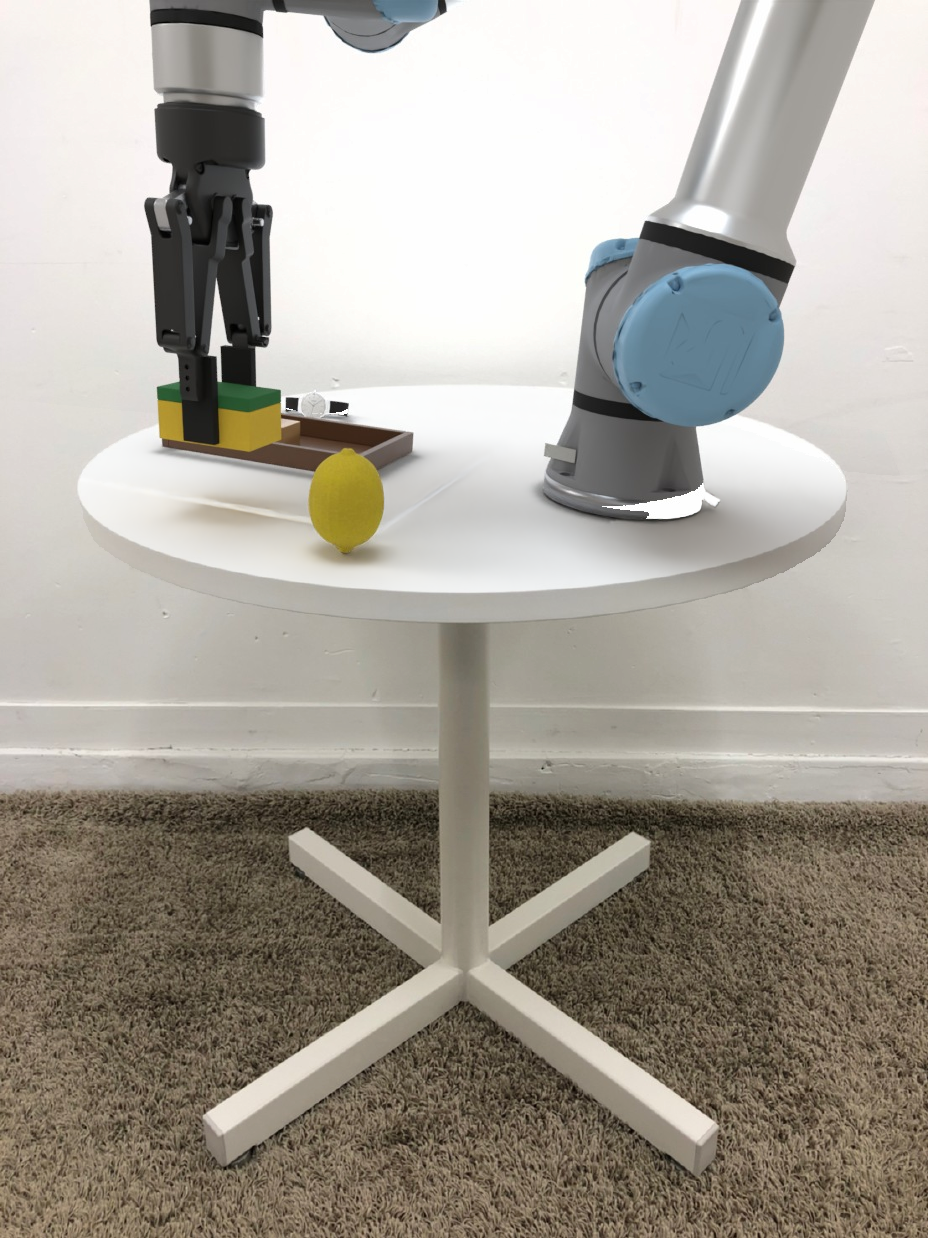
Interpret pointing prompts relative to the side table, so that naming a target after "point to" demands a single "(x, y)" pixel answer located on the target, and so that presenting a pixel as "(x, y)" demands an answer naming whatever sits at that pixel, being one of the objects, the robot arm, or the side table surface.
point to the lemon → (346, 500)
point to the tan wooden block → (290, 432)
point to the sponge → (228, 415)
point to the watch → (315, 405)
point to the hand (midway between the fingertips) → (221, 434)
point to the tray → (318, 444)
